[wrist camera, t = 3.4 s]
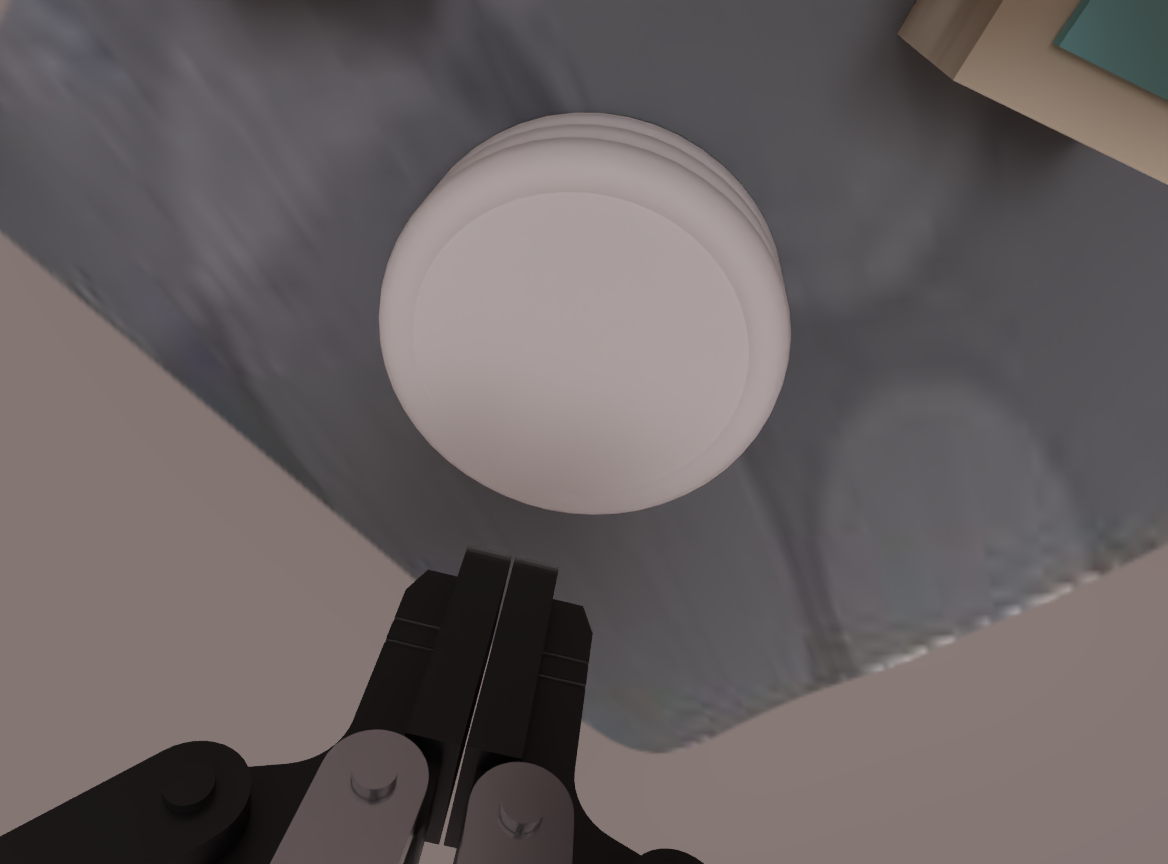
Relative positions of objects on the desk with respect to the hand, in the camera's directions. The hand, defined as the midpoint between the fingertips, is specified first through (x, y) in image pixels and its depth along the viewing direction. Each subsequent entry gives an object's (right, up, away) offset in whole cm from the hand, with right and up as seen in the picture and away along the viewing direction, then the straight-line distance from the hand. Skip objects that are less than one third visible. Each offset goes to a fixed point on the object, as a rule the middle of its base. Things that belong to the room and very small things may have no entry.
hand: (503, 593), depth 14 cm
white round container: (+2, +6, +9) cm, 11 cm away
